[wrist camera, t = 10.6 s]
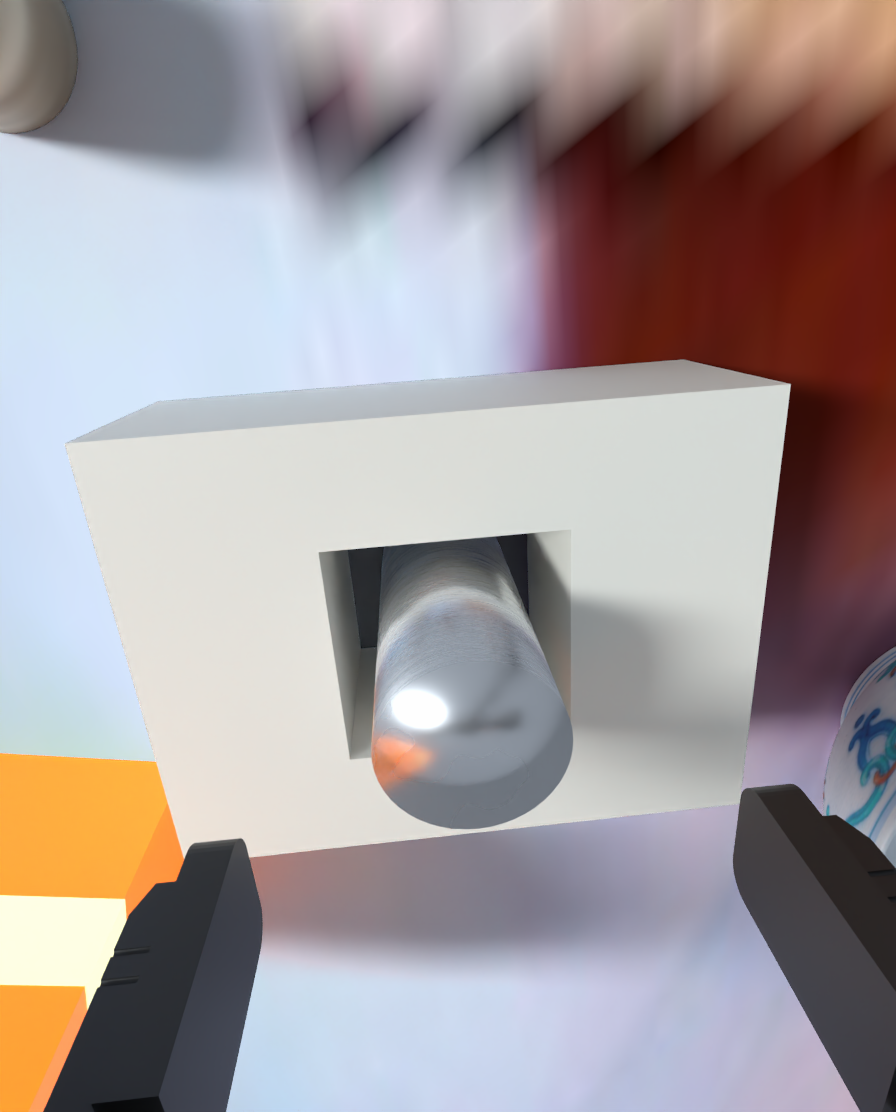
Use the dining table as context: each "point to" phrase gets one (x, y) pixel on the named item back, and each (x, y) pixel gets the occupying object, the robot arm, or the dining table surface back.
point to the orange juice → (68, 899)
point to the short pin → (34, 63)
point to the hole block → (430, 516)
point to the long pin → (462, 689)
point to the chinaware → (867, 757)
